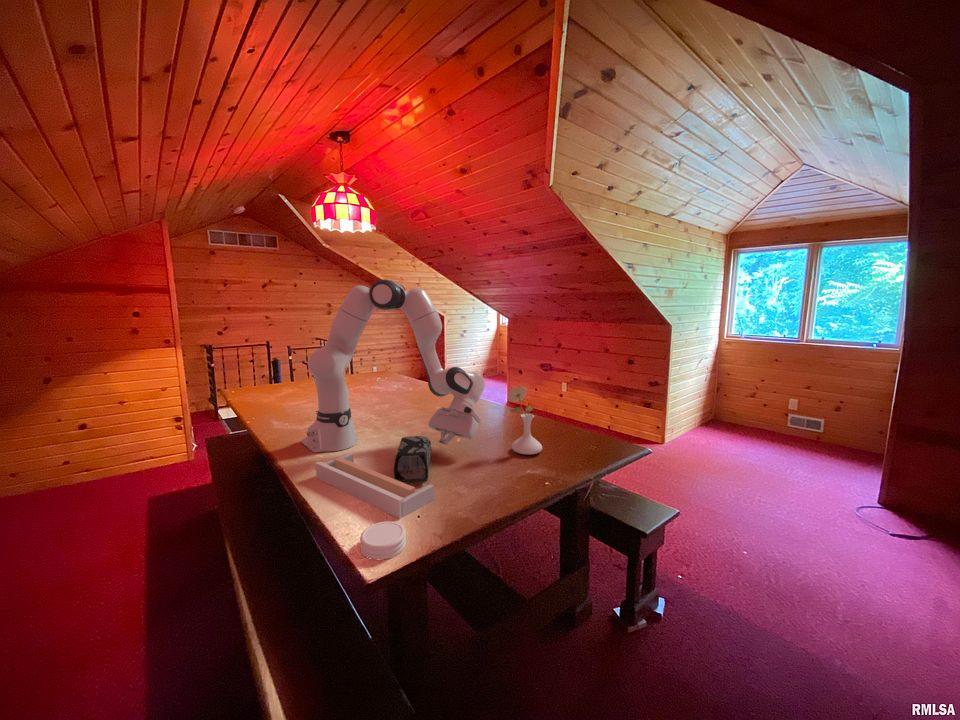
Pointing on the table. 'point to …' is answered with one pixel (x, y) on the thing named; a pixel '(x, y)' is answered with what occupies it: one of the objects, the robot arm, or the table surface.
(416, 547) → the table surface
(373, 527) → the coaster
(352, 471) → the tan wooden bar
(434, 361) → the robot arm
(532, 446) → the flower in vase
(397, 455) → the black mottled block
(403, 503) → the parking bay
